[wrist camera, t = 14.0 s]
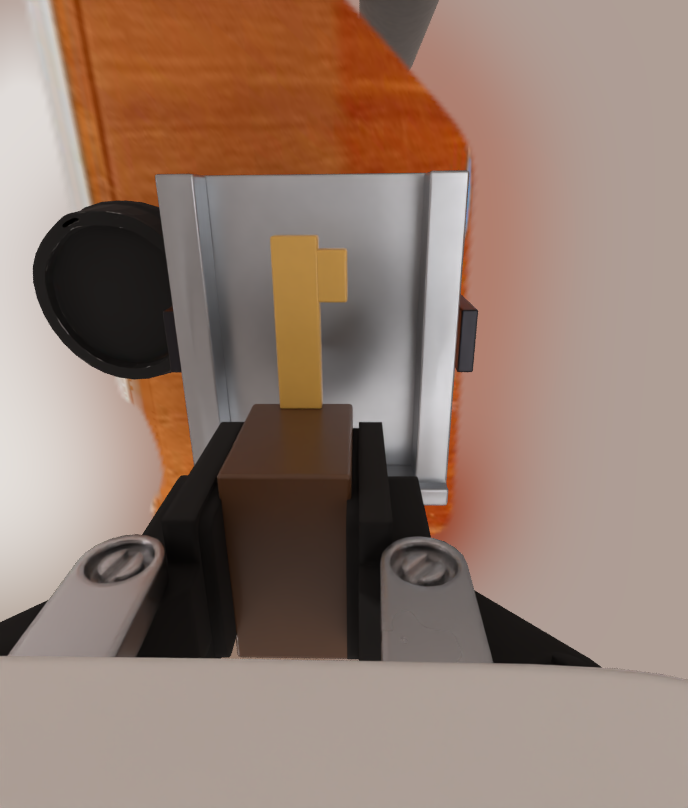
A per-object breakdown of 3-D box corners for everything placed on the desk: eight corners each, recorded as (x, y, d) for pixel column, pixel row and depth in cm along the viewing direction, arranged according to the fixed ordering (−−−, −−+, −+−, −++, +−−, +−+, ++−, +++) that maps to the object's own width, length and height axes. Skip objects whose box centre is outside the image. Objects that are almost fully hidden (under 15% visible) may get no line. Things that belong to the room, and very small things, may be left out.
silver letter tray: (175, 176, 15) (147, 173, 13) (458, 173, 14) (473, 169, 12) (211, 473, 18) (194, 504, 16) (438, 474, 18) (447, 506, 16)
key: (353, 552, 13) (352, 660, 10) (265, 551, 13) (236, 659, 10) (352, 234, 10) (350, 249, 7) (239, 234, 10) (188, 250, 7)
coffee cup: (232, 178, 35) (148, 166, 21) (284, 295, 38) (240, 352, 24) (126, 227, 36) (-19, 247, 22) (184, 336, 39) (87, 413, 25)
